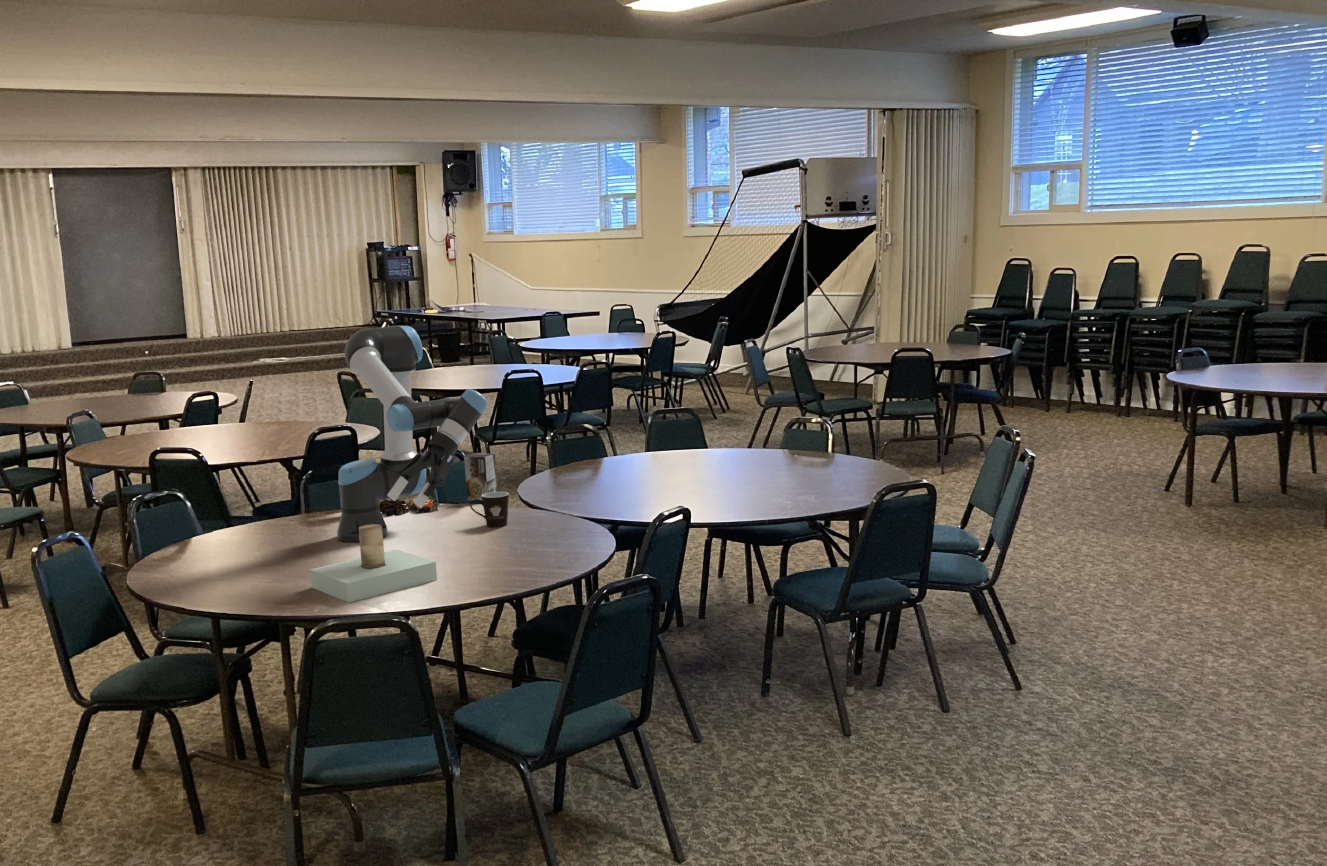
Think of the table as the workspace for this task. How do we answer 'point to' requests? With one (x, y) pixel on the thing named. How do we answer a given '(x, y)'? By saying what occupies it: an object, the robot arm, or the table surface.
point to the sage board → (373, 576)
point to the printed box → (480, 475)
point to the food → (399, 509)
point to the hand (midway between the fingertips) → (403, 501)
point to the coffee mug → (494, 508)
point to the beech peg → (371, 546)
